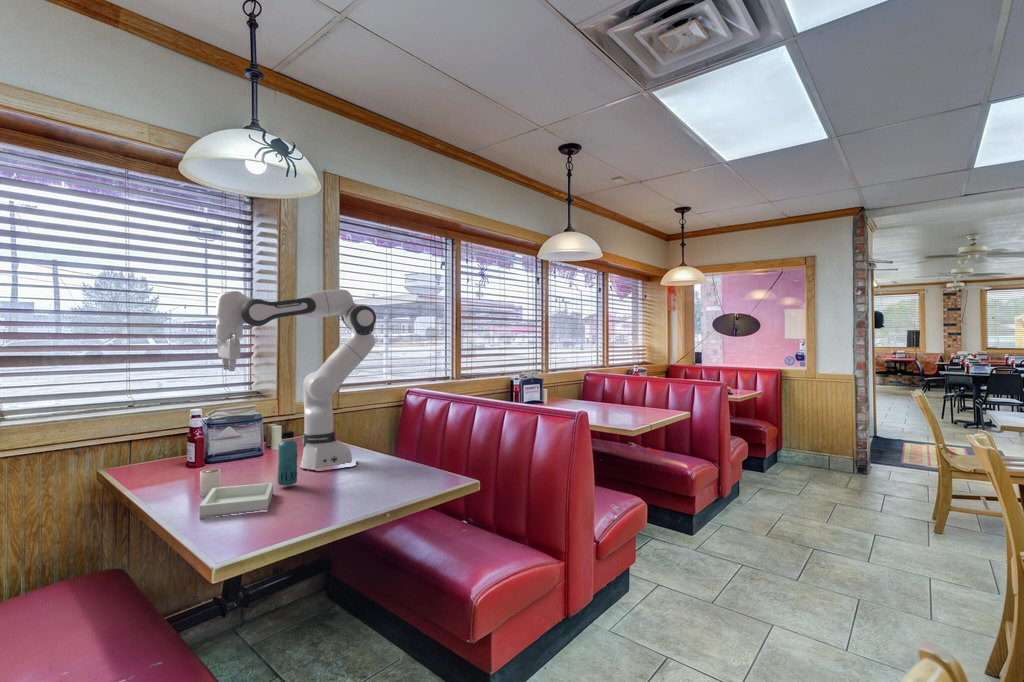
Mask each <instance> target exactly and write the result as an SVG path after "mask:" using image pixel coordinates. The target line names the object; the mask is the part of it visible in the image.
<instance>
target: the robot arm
mask: <svg viewBox="0 0 1024 682" xmlns="http://www.w3.org/2000/svg"><path fill="white" fill-rule="evenodd" d="M353 298H354V297H353V296H352V294H351V292H349V291H348V290H347V289H342V288H341V289H338V288H335V289H334V288H332V289H322V290H316V291H313V292H312V291H311V292H309V293H306V294H303V295H302V296H300V297H297V298H293V299H285V300H278V301H277V300H276V301H268V300H264V299H260V298H250V297H248V296H247V295H245V294H243V293H242V292H241V291H236V290H233V291H231V290H230V291H225V292H222V293H220V294H219V295H218V296H217V300H216V308H215V316H216V324H215V339H216V343H217V345H216V346H217V354H218V357H219V358H221V361H222V369H223V370H225V371H227V370H228V371H229V372H235V371H236V365H237V360H240V359H241V339H243V337H244V336H243V334H244V333H243V332H244V329H243V327H244V325H245V324H247V325H249V326H252V327H261V326H264V325H267V323H270V322H271V321H272V320H275V319H280V318H286V317H292V316H293V317H294V316H305V317H308V318H325V317H326V318H329V317H332V316H340V318H341V320H342V321H343V324H344V325H345V327H347V329H350V330H351V331H350V332H351V333H350V334H349V336H348V337H347V339H345V340H344V341H343V342H342V343H341V344H340V345H339V346H338V347H337V348H336V349H335V350H334V351H333V352H332V353H331V354H330V355H329V356H328V357H327V359H326V360H325V361H324V362H323V364H322V365H321V366H320V367H319V368H318V369H317V370H316V371H312V372H310V373H309V374H307V375H306V376H305V378H304V379H303V384H302V390H303V391H302V394H303V397H302V398H303V410H304V411H303V412H304V413H303V414H304V415H303V417H304V419H303V420H304V423H303V425H304V426H303V429H304V431H303V434H302V447H303V450H302V458H301V461H300V466H299V468H300V467H302V468H310V469H316V470H319V468H323V467H328V466H334V465H340V464H345V463H351V462H352V458H353V454H352V450H351V448H350V447H349V446H347V445H346V444H344V442H341V441H340V440H339V438H340V434H339V433H338V432H337V431H334V426H333V425H334V412H333V411H334V410H333V400H332V396H333V395H334V394H335V393H336V392H337V390H338V389H339V388H340V386H341V385H342V384H343V383H344V382H345V381H346V379H347V378H348V377H349V376H350V375H351V373H352V372H353V371H354V370H355V369H356V368H357V367H358V366H359V365H360V364H361V363H362V362H363V361H364V360H365V359H366V358H367V356H368V355H369V354H370V352H371V351H372V350H373V348H374V347H375V344H376V338H375V336H374V335H373V334H372V333H373V332H374V330H375V329H374V328H375V325H376V321H377V313H376V312H375V310H374V309H373V308H372V307H370V306H368V305H366V304H365V305H364V304H356V303H355V302H354V299H353Z"/></svg>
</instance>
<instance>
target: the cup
mask: <svg viewBox="0 0 1024 682" xmlns="http://www.w3.org/2000/svg"><path fill="white" fill-rule="evenodd" d="M221 472H222V470H221V469H220V468H208V469H203V470H201V471H200V472H199V497H200V496H201V498H206V496H207V495H208V494H209V492H210V491H211V490H212V488H218V487H222V485H221V482H222V481H221V478H222V477H221V475H222V474H221Z"/></svg>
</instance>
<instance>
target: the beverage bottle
mask: <svg viewBox="0 0 1024 682" xmlns="http://www.w3.org/2000/svg"><path fill="white" fill-rule="evenodd" d="M294 437H295V432H294V431H293V430H285V431H282V432H281V439H286V440H282V441H280V442H279V443H278V448H277V449H278V456H277V457H278V460H277V461H278V463H277V464H278V465H277V483H278V484H277V485H279V486H284V487H285V486H286V487H287V486H292V485H295V484H297V483H298V482H297V481H298V452H299V451H298V442H297V441H295V439H292V438H294Z"/></svg>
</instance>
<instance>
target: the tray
mask: <svg viewBox="0 0 1024 682" xmlns="http://www.w3.org/2000/svg"><path fill="white" fill-rule="evenodd" d="M272 494H273V495H274V482H265V483H254V484H244V485H243V484H242V485H233V486H232V485H229V486H221V487H218V488H212V490H211V491H210V492H209V494H208V495H207V496H206V497H204V499H203V500H202V502H201V503H200V504H199V520H203V519H202V518H208V519H211V518H210V517H216V516H223V515H231V514H239V513H246V512H254V511H260V510H268V511H269V509H268V506H269V504H270V505H271V503H270V501H271V502H272V500H271V498H272V499H273V497H272ZM269 507H270V506H269Z"/></svg>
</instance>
